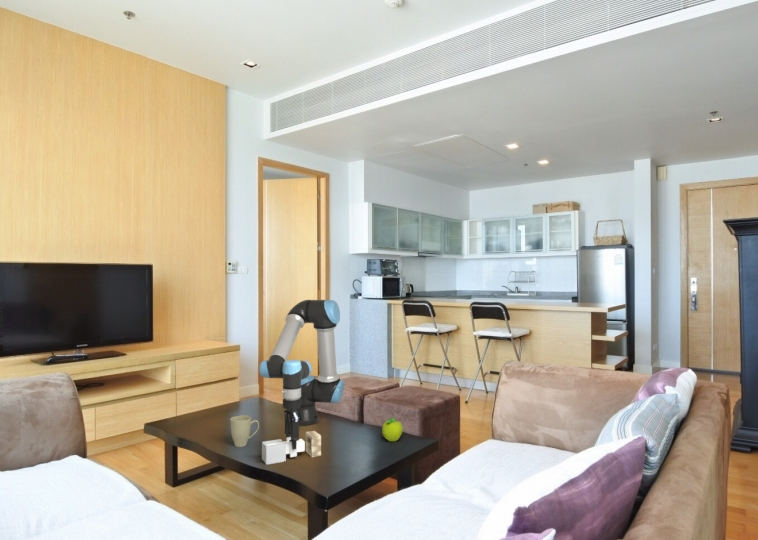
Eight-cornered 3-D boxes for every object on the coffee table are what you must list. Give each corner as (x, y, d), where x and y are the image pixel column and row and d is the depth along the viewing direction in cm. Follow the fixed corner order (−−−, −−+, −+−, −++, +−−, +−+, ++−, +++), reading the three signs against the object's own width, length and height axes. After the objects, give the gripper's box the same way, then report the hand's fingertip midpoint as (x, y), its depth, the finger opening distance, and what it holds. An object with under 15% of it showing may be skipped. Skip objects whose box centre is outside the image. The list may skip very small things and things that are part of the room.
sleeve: (280, 455, 204) (281, 438, 204) (285, 461, 198) (285, 443, 198) (261, 459, 200) (261, 441, 200) (266, 464, 194) (266, 446, 194)
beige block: (314, 449, 211) (314, 430, 211) (321, 455, 204) (321, 435, 204) (305, 451, 209) (305, 432, 210) (311, 457, 202) (312, 437, 202)
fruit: (379, 442, 221) (379, 420, 221) (386, 436, 229) (386, 415, 230) (398, 445, 218) (398, 422, 218) (404, 438, 226) (404, 417, 227)
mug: (241, 450, 210) (241, 422, 211) (225, 446, 216) (226, 418, 216) (260, 443, 220) (260, 416, 220) (244, 439, 225) (244, 413, 225)
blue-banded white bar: (301, 448, 207) (301, 438, 207) (304, 451, 203) (304, 441, 203) (266, 454, 200) (266, 443, 200) (269, 457, 196) (269, 446, 196)
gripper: (277, 394, 209) (276, 449, 208) (289, 403, 193) (289, 463, 193) (294, 392, 212) (293, 446, 212) (307, 401, 197) (307, 459, 196)
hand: (291, 454), depth 202 cm, fingers closed on blue-banded white bar, 4 cm apart
